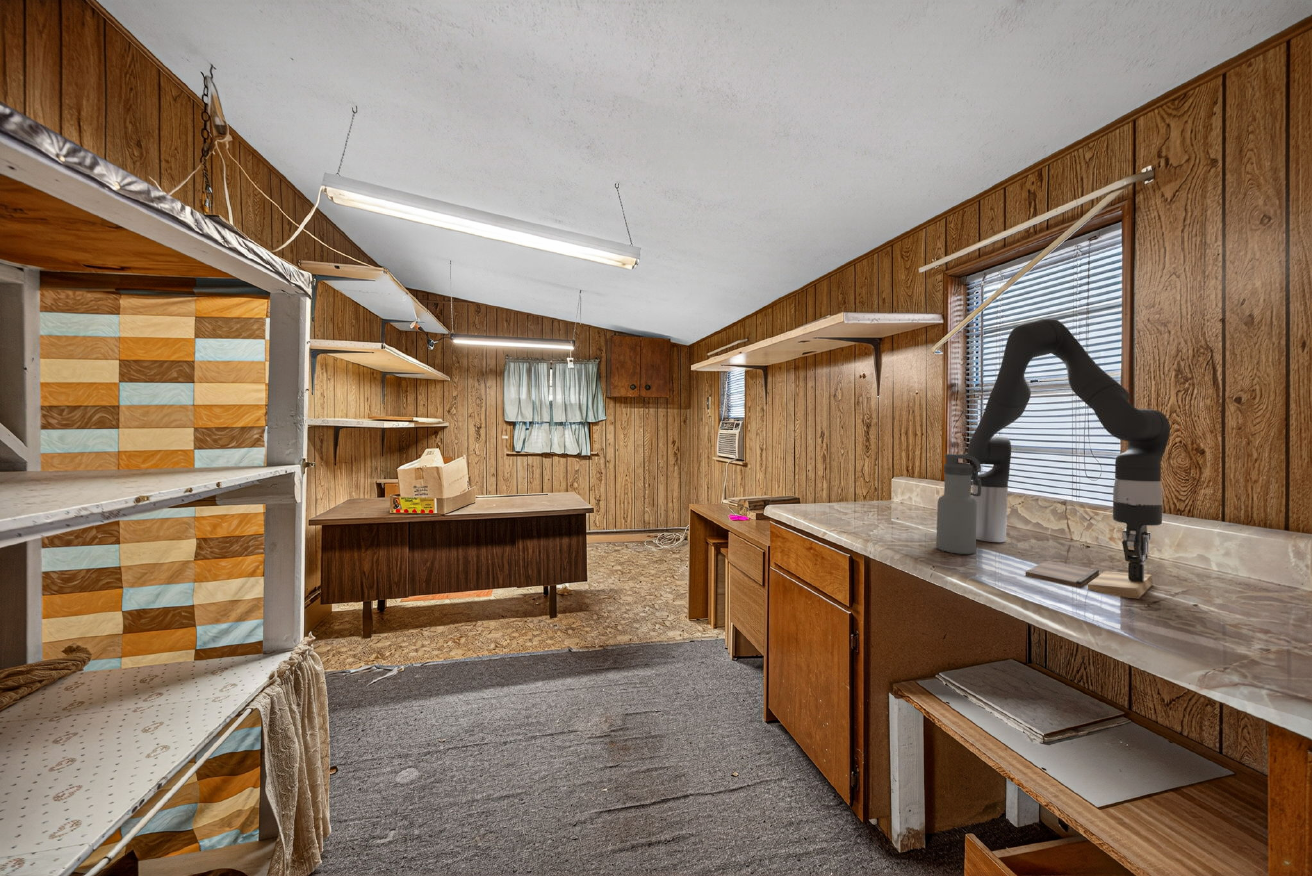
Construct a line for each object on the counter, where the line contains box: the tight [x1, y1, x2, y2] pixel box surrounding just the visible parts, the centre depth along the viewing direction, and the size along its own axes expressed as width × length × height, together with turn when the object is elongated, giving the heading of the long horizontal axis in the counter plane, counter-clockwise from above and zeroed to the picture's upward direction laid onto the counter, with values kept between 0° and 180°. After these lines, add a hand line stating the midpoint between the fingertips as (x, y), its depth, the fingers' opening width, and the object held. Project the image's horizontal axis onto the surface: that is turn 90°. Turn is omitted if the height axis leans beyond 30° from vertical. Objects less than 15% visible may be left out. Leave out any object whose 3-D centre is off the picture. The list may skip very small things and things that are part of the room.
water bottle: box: [935, 453, 982, 555], centre depth 139 cm, size 10×10×28 cm
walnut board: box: [1024, 560, 1100, 589], centre depth 114 cm, size 16×10×2 cm, turn 127°
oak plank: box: [1086, 570, 1154, 600], centre depth 106 cm, size 16×8×2 cm, turn 127°
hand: (1135, 580), depth 104 cm, fingers closed
